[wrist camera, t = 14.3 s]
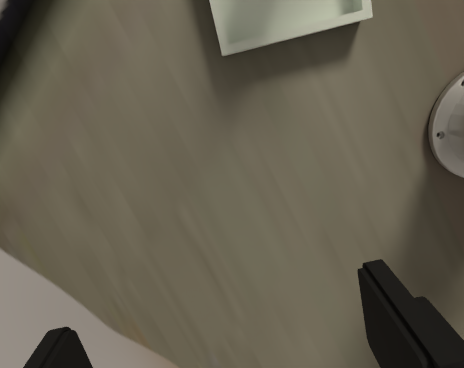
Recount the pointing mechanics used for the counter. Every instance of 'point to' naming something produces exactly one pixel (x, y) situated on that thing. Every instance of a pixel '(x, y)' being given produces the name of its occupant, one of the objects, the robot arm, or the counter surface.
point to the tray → (280, 20)
